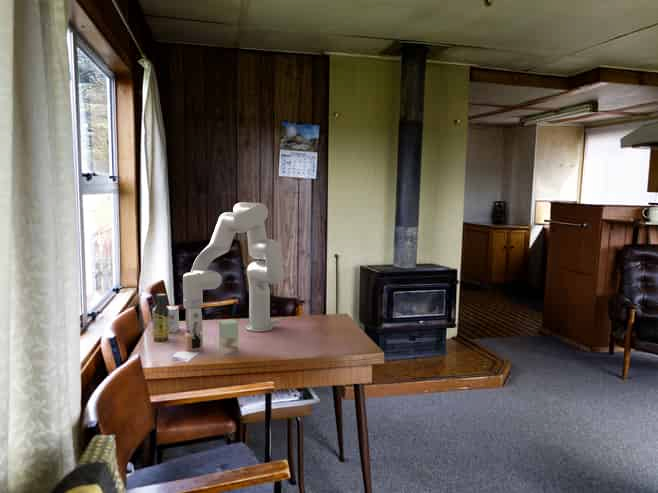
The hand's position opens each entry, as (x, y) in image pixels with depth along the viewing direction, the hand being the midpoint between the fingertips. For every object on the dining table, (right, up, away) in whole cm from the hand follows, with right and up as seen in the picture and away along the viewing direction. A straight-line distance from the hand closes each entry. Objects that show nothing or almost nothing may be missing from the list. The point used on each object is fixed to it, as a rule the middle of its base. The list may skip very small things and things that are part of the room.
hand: (193, 344), depth 201 cm
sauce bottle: (-17, 0, +11) cm, 20 cm away
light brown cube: (0, -2, 0) cm, 2 cm away
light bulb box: (-19, +1, +25) cm, 32 cm away
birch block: (+15, -2, -2) cm, 15 cm away
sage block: (+15, +4, -3) cm, 16 cm away
